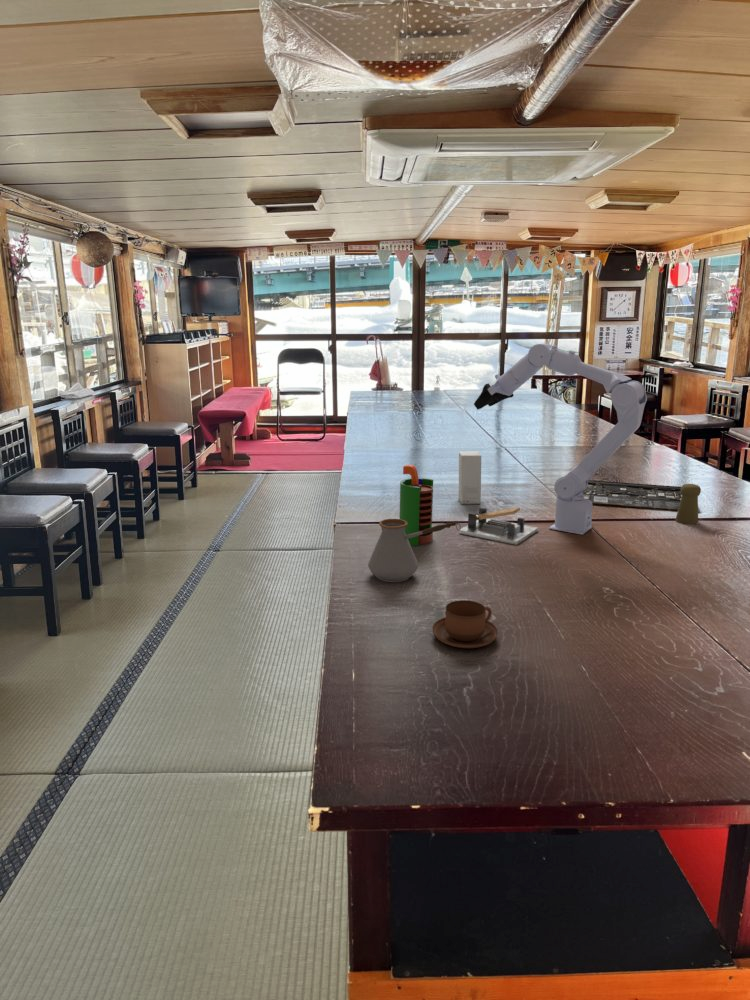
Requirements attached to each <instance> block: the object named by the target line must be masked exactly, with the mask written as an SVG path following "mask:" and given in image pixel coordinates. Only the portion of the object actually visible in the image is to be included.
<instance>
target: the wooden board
mask: <svg viewBox="0 0 750 1000" xmlns="http://www.w3.org/2000/svg"><path fill="white" fill-rule="evenodd" d="M520 511H521V508H520V507H515V508H509V509H502V510H497V511H491V512H490V511H489V512H487V513H483V514H482V513H480V514H479V513H478V514H476V520H481V519H487V518H488V519H494V518H498V517H504V516H511V515H512V516H513V515H515V514H517V513H518V512H520Z"/></svg>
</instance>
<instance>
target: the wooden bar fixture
mask: <svg viewBox="0 0 750 1000" xmlns="http://www.w3.org/2000/svg"><path fill="white" fill-rule="evenodd" d="M487 511H488V508H486V507H478V514H480V513H482V514H483V513H488V512H487ZM476 515H477V513H473V512H468V515H467V516H468V517H467V518H468V519H467V525H466V526H463V527H461V529H460V528H459V529H458V530H459V531H458V534H460V535H466V536H470V537H475V538H480V539H485V540H486V539H487V540H491V541H496V542H501V543H506V544H510V545H515V546H517V545H519V544H521V543H522V542H523V541H525V540H527V539H528V538H530V537H531V536H534V534H535V533H537V532H538V531H539V527H537V526H533V525H527V524H525V518H524V517H517V523H515V522H511V521H505V520H499V519H494V518H487V519H481V520H476Z"/></svg>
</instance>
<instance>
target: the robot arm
mask: <svg viewBox="0 0 750 1000" xmlns="http://www.w3.org/2000/svg"><path fill="white" fill-rule="evenodd" d="M544 367H546V368H547V369H549V370H551V371H553V372H557V373H560V374H563V375H564V376H568V377H571V376H574V375H575V374H577V375H579V376H581V377H585V378H586V379H589V380H592V381H593V382H597V383H599V384H601V385H603V388H604V389H605V392H606V394H609V393H610V402H611V404H612V406H613V408H614V410H615V411H616V416H617V423H616V424H615V425H613V427H612V428H611V429H610V430H609V431H608V432H607V433H606V434H605V435H604V437H602V439H601V440H600V441H599V442H598V443H597V444H596V445H595V446H594V447H593V448H592V449H591V450H590V452H588V453H587V454H586V456H585V457H584V458H583V459H582V460H581V461H580V462H579V463H578V464H577V465H576V466H575V467H573V468H572V469H571V470H570V471H569V472H568V473H567V474H565V475H564V476H560V477H559V478H557V479H556V481H555V483H554V486H553V487H554V488H553V489H554V492H555V494H556V501H555V503H556V504H555V514H554V524H552V525H551V526H549V527H548V528H549V529H550V530H553V531H560V532H564V533H565V532H566V533H570V534H577V535H580V536H581V535H584V534H586V533H587V532H588V531H590V529H592V527H593V526H592V521H593V519H592V518H593V508H594V506H593V505H594V504H592V501H590V500H586V499H584V494H583V491H584V490H585V489H586V487H587V484H588V481H589V480H590V479H592V478H593V476H594V474H595V473H596V472H597V471H598V470H599V469H600V468H601V467H602V466H603V465H604V464H605V463H606V462H607V461H608V460H609V459H610V458H611V457H612V456H613V455H614V454H615V452H617V451H618V449H620V447H622V445H624V443H626V442H627V440H628V439H629V438H630V437H631V436H632V435H633V434H634V433H635V432H636V431H637V430H638V429H639V428H640V426H641V423H642V420H643V414H644V410H645V406H646V403H647V401H648V398H647V392H646V389H645V386H644V385H643V384H642V382H640V381H638V380H632V378H631V377H629V376H626V375H624V374H621V373H618V372H615V371H612V370H610V369H606V368H602V367H600V366H596V365H593V364H590V363H586V362H584V361H582V359H581V358H580V356H579V355H578V354H576V351H574V350H568V351H567V350H564V349H561V348H558V346H557V345H555V344H553V345H552V344H550V343H538V344H534V345H532V346H531V347H530V348H529V350H528V352H527V353H526V354H525V355H524V356H523V357H521V358H520V359H519V360H518V361H517V362H515V364H513V365H512V366H511V367H510V368H509V369H507V370H506V371H505V372H504V373H503V374H502V375H500V374H498V373H497V374H495V375H494V377H495V380H494V383H493V384H491V385H490V383H485V385H484V386H483V387H482V390H481V393H480V394H479V396H477V398H476V400H475V401H474V403H473V406H474V407H475V408H476V410H481V409H483V408H484V407H486V406H487V405H488V407H493V406H494V405H496V404H498V403H499V402H502V401H504V400H507V399H509V398H510V399H511V398H513V397H514V392H516V391H517V390H518V389H519V388H520V387H522V386H523V385H524V384H525V383H527V382H528V381H529V380H530V379H531V378H533V377H534V376H535V375H537V373H538V372H539V371H540V370H541V369H542V368H544Z"/></svg>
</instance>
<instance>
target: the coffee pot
mask: <svg viewBox="0 0 750 1000" xmlns="http://www.w3.org/2000/svg"><path fill="white" fill-rule="evenodd" d="M378 525H379V526H380V528H381V533H380V535H379V538H378V539H377V542H376V544H375V546H374V549H373V551H372V554H371V556H370V558H369V561H368V563H367V564H368V565H367V568H369V571H370V573H371V574H373V576H375V578H377V579H378V580H379V581H382V582H385V583H400V582H405V581H407V580H408V579H410V577H412V576H413V575H414V574H415V573H416V572H417V570H418V568H419V562H418V560H417V557H416V554H415V553H414V551H413V548H412V545H410V543H409V541H408V539H409V538H412V537H415V536H419V535H422V534H427V533H431V532H433V533H435V532H440V531H442V530H444V529H447V528H448V529H450V528H451V527H454V526H455V529H456V530H457V531H458V532H459V530H460V529H462V526H461V524H460V522H458V521H457V520H455V521H452V522H446V523H445V524H438V525H437V524H436V525H435V526H434V525H433V526H432V527H431V528H428V529H425V530H423V531H420V532H416V533H412V534H408V535H406V534H405V527H406V526H407V525H408V523H407V522H406V521H405V520H401V519H400V518H388V519H382V520H380V521H379V523H378ZM457 525H459V528H458V527H457Z"/></svg>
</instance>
